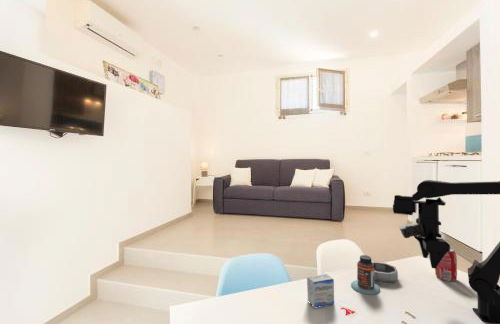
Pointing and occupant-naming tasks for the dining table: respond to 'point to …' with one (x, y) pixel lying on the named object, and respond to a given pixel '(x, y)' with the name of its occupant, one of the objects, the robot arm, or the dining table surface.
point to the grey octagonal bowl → (385, 273)
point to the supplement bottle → (365, 273)
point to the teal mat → (359, 289)
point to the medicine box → (320, 290)
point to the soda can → (447, 267)
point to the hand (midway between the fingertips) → (429, 262)
